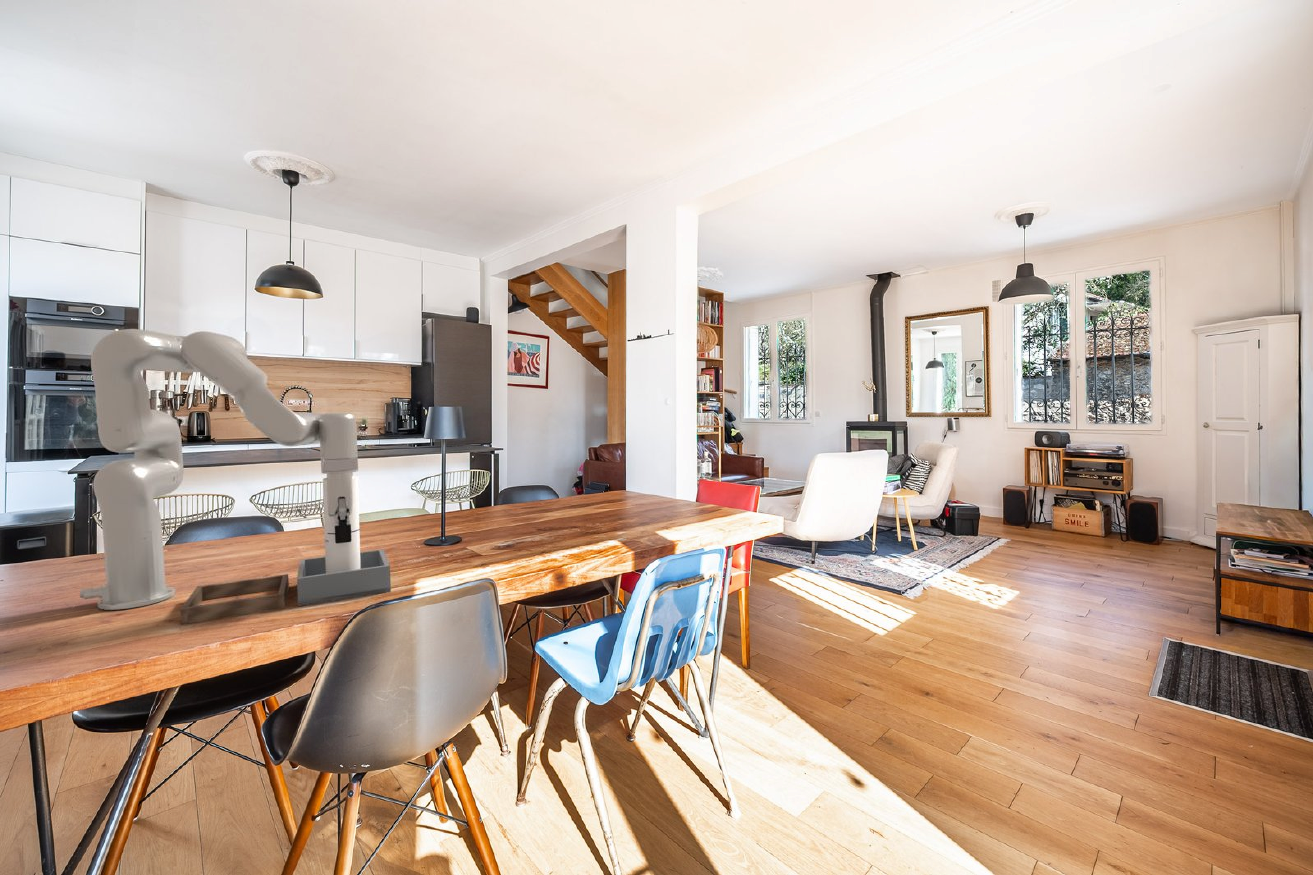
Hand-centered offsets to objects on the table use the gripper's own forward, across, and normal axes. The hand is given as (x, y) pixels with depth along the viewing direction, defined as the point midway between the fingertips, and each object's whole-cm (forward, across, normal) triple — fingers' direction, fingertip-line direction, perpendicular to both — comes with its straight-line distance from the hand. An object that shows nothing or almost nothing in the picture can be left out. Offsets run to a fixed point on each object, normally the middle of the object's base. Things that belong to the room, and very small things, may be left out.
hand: (342, 538), depth 131 cm
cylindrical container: (+11, 0, 0) cm, 11 cm away
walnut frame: (+12, 0, -20) cm, 23 cm away
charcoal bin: (+12, 0, 0) cm, 12 cm away
